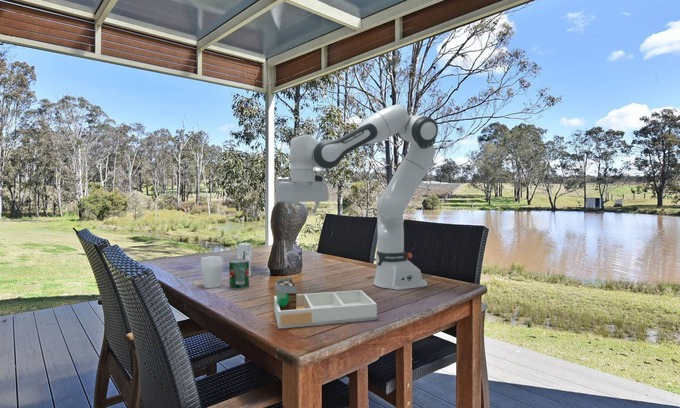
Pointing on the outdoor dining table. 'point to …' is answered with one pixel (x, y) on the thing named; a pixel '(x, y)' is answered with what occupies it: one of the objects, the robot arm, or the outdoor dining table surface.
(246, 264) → the canned tomato
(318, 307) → the tray
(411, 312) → the outdoor dining table surface
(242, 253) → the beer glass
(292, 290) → the food container
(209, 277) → the cup
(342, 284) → the outdoor dining table surface
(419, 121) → the robot arm
